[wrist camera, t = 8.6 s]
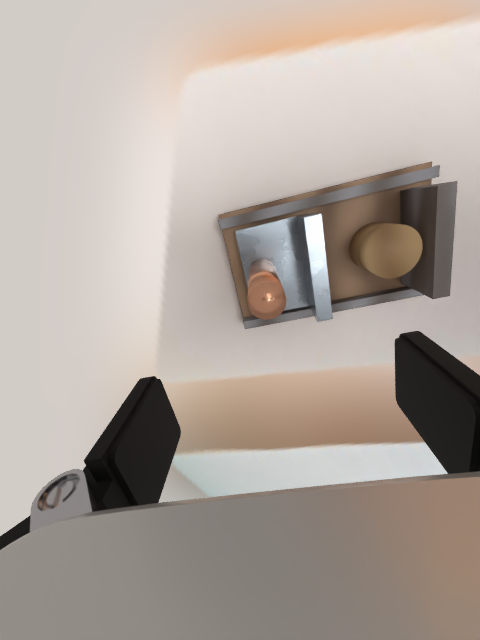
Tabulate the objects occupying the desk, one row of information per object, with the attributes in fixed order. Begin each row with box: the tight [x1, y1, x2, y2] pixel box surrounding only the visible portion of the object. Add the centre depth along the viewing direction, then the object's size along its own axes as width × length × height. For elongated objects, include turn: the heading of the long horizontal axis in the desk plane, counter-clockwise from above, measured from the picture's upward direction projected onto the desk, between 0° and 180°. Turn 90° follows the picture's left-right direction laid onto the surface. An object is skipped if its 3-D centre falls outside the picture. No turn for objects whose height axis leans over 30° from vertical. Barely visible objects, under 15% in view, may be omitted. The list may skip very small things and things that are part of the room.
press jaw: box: [235, 213, 333, 321], centre depth 25 cm, size 8×10×12 cm
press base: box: [218, 162, 457, 329], centre depth 28 cm, size 22×14×8 cm, turn 103°
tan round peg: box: [349, 222, 423, 279], centre depth 27 cm, size 5×5×5 cm
